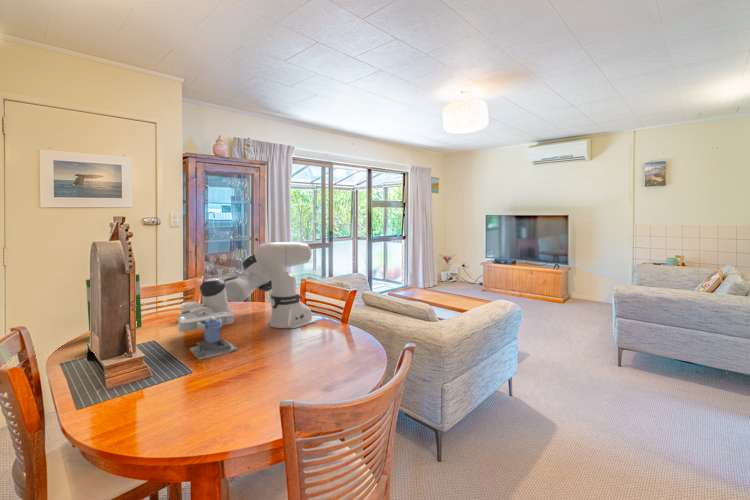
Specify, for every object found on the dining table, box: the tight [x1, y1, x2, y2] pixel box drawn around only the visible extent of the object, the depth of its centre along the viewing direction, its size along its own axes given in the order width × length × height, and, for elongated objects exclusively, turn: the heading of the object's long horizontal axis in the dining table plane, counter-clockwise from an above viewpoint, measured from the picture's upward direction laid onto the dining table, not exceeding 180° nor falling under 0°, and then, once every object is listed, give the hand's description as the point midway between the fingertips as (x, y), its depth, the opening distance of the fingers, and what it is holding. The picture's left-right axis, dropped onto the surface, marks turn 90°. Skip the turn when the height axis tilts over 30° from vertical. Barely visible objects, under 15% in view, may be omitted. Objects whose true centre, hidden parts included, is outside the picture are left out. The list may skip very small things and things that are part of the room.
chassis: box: [189, 337, 239, 361], centre depth 142 cm, size 14×12×2 cm
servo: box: [203, 316, 222, 343], centre depth 141 cm, size 4×8×9 cm, turn 41°
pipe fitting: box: [179, 301, 189, 313], centre depth 181 cm, size 6×7×8 cm
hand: (212, 326), depth 140 cm, fingers closed on servo, 4 cm apart
